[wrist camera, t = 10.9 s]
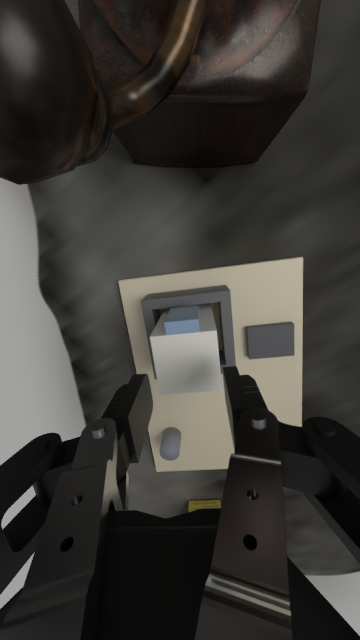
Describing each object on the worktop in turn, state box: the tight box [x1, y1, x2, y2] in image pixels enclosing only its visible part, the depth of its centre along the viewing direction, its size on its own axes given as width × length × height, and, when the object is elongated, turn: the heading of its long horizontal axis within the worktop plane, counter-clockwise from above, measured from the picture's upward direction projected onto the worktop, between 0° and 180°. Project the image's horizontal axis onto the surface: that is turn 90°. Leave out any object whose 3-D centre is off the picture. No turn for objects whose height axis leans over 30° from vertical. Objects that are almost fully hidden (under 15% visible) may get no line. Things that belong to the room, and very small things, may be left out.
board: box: [118, 257, 303, 472], centre depth 23 cm, size 16×22×4 cm
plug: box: [150, 303, 222, 395], centre depth 18 cm, size 4×5×8 cm
